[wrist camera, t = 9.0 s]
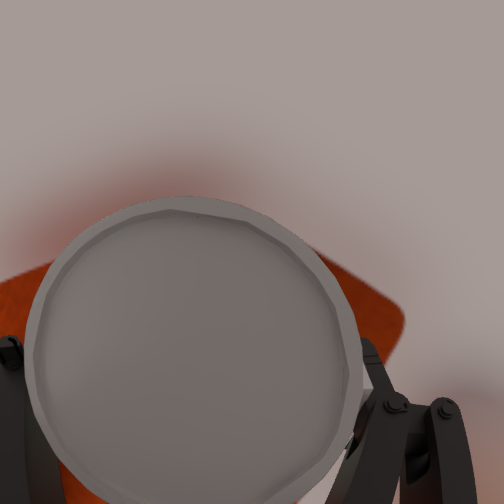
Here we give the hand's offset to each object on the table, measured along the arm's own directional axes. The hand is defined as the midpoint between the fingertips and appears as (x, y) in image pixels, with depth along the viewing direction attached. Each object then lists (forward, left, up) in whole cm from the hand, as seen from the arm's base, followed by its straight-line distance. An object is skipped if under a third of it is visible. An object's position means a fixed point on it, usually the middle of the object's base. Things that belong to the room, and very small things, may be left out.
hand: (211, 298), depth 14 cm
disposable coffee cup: (+2, -3, -5) cm, 6 cm away
